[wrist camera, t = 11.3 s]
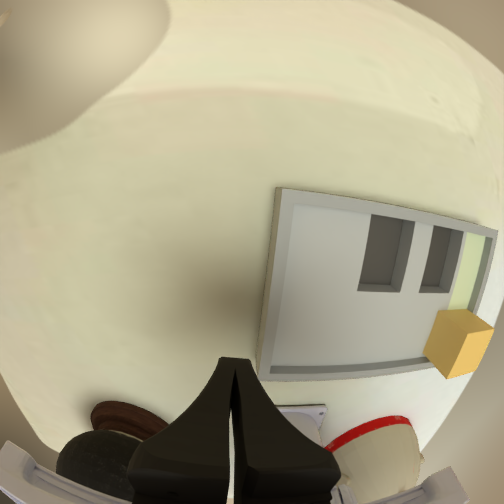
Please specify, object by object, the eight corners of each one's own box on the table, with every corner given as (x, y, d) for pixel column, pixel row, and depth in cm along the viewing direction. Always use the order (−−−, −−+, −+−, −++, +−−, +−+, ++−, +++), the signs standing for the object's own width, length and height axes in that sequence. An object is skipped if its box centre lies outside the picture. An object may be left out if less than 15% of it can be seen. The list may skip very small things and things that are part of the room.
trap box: (442, 348, 23) (456, 362, 20) (255, 358, 22) (257, 380, 19) (478, 224, 20) (498, 230, 17) (275, 187, 19) (282, 188, 16)
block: (451, 348, 21) (475, 370, 17) (422, 352, 21) (446, 379, 16) (466, 308, 20) (494, 328, 16) (438, 310, 20) (467, 333, 15)
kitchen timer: (306, 476, 29) (323, 557, 14) (334, 424, 25) (371, 531, 11) (386, 462, 30) (414, 527, 15) (425, 407, 26) (474, 482, 12)
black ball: (150, 466, 27) (131, 549, 13) (72, 414, 24) (29, 496, 10) (211, 442, 25) (203, 554, 11) (115, 377, 22) (57, 496, 8)
